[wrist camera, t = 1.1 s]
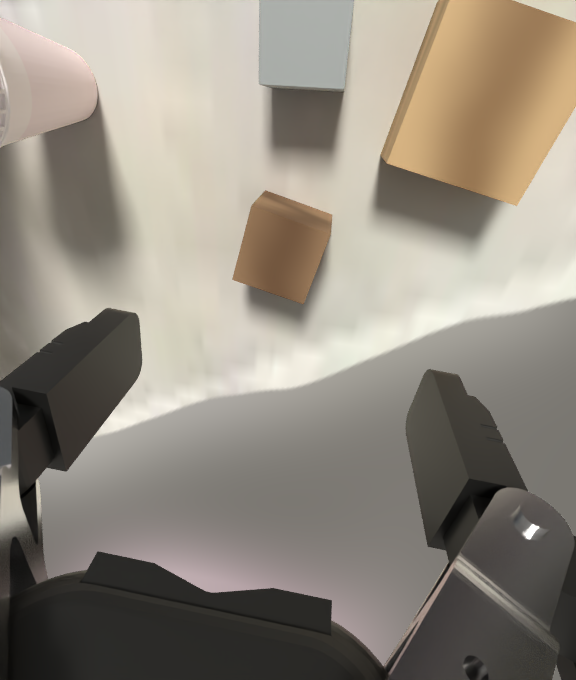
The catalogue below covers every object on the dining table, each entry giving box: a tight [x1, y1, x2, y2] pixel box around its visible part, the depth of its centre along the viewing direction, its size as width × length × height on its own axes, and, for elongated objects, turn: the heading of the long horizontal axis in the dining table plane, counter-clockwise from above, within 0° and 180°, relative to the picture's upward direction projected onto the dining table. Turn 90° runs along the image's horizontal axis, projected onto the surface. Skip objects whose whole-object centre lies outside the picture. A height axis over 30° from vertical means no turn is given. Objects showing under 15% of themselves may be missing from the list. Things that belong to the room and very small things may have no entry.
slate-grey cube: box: [259, 0, 354, 92], centre depth 18 cm, size 4×4×4 cm
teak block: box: [381, 0, 576, 206], centre depth 19 cm, size 7×7×4 cm
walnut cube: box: [232, 191, 332, 304], centre depth 24 cm, size 4×4×4 cm
